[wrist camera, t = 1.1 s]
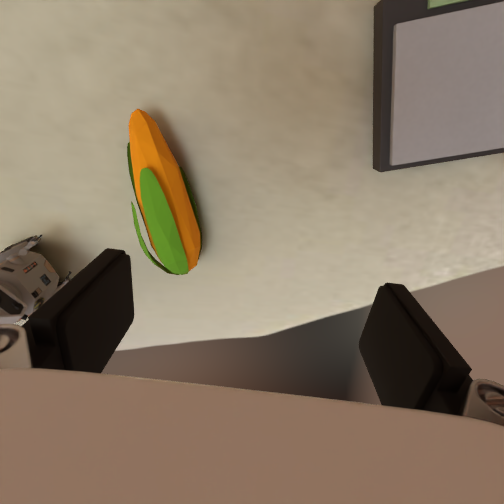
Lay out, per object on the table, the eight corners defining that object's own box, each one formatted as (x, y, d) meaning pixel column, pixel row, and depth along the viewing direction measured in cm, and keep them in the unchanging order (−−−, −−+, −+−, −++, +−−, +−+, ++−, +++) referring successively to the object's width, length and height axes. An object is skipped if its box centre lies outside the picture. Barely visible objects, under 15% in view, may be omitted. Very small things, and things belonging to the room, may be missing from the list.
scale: (373, 6, 29) (386, -6, 26) (525, -27, 28) (556, -43, 25) (372, 168, 36) (382, 173, 33) (494, 148, 34) (516, 152, 31)
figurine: (103, 273, 44) (32, 345, 30) (42, 296, 46) (-49, 372, 33) (66, 220, 40) (-34, 274, 27) (2, 247, 43) (-119, 309, 29)
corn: (147, 293, 36) (79, 115, 27) (162, 264, 43) (112, 116, 34) (206, 283, 36) (156, 101, 27) (211, 256, 42) (174, 104, 34)
